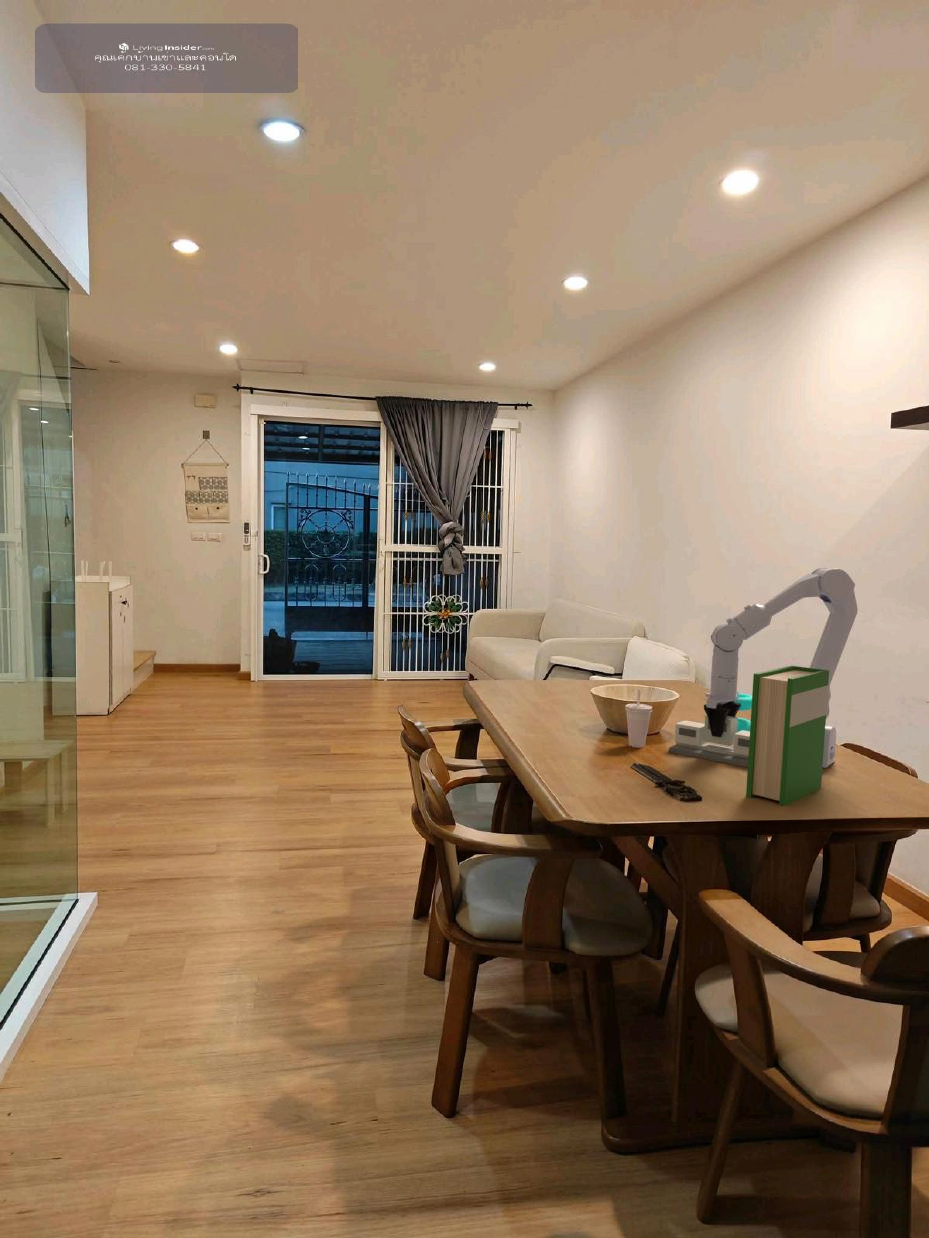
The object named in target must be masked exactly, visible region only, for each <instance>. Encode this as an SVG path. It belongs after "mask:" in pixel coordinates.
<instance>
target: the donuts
mask: <svg viewBox="0 0 929 1238" xmlns="http://www.w3.org/2000/svg"><path fill="white" fill-rule="evenodd" d="M734 702H738V703H741V707H740V709H739V710H738V711H742V712H743V711H751V708H752V694H748V693H744V692H743V693H742V692H739V697H738V700H736V701H734ZM750 724H751V720H749V719H746V718H743V717H738V726H737V732H740V731H742V730H744V731H750Z"/></svg>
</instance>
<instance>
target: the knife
mask: <svg viewBox="0 0 929 1238" xmlns="http://www.w3.org/2000/svg"><path fill="white" fill-rule="evenodd" d="M630 768H633V769H634V770H635V771H637V773H640V774H641V775H643V776H645V777H646V778H647V779H649V780H651V781H652V780H653V781H652V782H653V783H654V785H655V786H654V788H661V787H665V788H664V789H665V791H664V792H665V793H666V792H667V793H666V794H668V795H669V794H670V795H669V796H671V797H674V796H675V795H676V796H680V797H679V800H680V802H682V801H684V803H691V802H692V803H693V802H696V803H697V802H702V801H703V796H702V795H700V794H699V793H698V791H697V790H696V789H695V788H693V787H691V786H690V785H686V781H685V780H681V779H672V778H670V777H669V776H667V775H665V774H664V773H662V772H661V771H659V770H657V769H656V768H654V767H652V766H651V765H647V764H642V763H635V762H632V764H631V766H630ZM669 784H670V785H669ZM658 785H659V786H658ZM686 796H687V797H686Z"/></svg>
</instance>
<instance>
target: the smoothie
mask: <svg viewBox="0 0 929 1238" xmlns="http://www.w3.org/2000/svg"><path fill="white" fill-rule="evenodd" d="M636 701H637V702H636V703H628V704H626V705H625V706H624V707H625V708H624V710H625V711H626V720H627V721H626V722H627V735H628V746H629V747H631V746H632V748H645V747H646V741H647V735H648V730H649V724H650V719H651V714H652V712H653V706H652V705H648V704H646V703H645V704H644V703H641V702H640V701H641V688H640V687H639V688H638V689H637V700H636Z"/></svg>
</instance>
